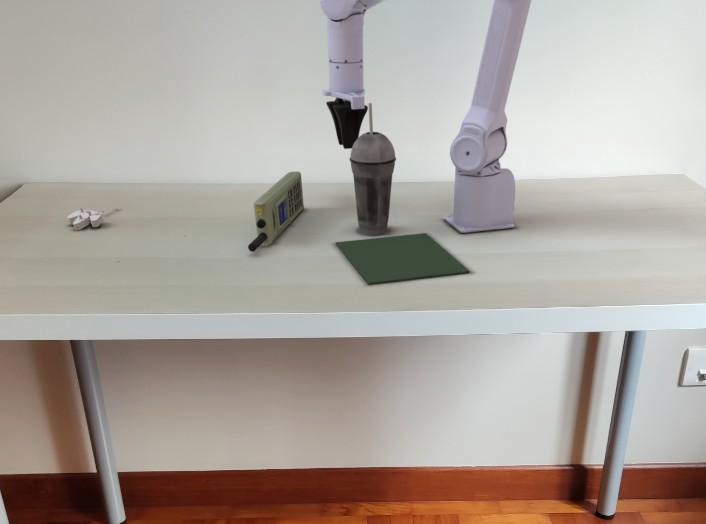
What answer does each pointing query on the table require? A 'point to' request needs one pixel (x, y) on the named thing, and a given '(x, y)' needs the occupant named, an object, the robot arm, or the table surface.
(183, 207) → the table surface
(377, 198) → the beverage cup
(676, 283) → the table surface
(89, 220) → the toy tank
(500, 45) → the robot arm
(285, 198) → the handheld radio
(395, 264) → the mat
